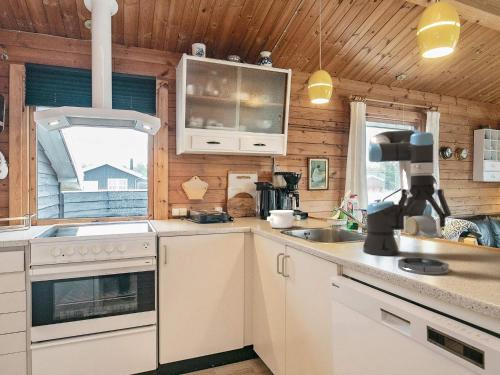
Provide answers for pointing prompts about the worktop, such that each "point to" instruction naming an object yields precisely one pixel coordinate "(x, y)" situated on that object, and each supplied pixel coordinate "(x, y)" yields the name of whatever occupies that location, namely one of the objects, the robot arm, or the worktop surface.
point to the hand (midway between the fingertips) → (422, 234)
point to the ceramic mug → (421, 226)
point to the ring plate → (423, 266)
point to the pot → (281, 218)
